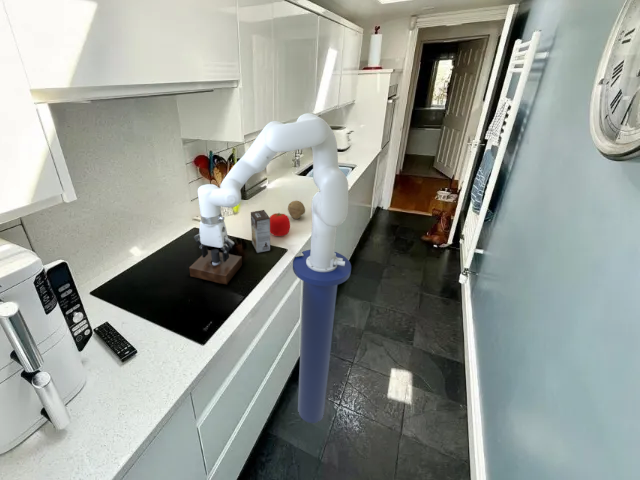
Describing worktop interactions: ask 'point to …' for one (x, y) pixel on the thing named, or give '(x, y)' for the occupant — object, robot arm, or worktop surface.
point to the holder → (216, 268)
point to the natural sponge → (296, 209)
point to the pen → (215, 257)
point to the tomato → (279, 224)
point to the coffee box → (260, 230)
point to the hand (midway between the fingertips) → (215, 257)
